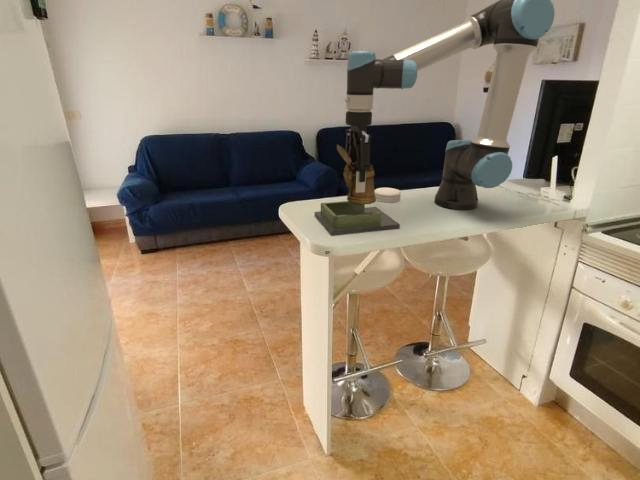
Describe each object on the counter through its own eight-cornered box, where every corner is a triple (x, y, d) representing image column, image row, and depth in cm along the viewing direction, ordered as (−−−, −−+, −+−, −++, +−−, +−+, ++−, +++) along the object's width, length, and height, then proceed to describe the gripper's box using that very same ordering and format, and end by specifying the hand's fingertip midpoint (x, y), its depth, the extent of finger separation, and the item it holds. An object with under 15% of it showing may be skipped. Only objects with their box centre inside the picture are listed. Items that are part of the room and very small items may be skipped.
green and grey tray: (375, 210, 137) (376, 196, 135) (399, 228, 121) (401, 213, 119) (314, 216, 131) (314, 201, 129) (331, 235, 115) (331, 219, 113)
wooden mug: (329, 199, 124) (330, 141, 117) (366, 195, 129) (370, 139, 122) (341, 207, 117) (343, 146, 110) (381, 202, 122) (385, 143, 115)
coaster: (390, 194, 156) (391, 186, 155) (405, 201, 148) (406, 192, 146) (368, 197, 152) (369, 188, 151) (382, 204, 144) (383, 195, 142)
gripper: (335, 108, 120) (333, 181, 129) (359, 114, 103) (355, 198, 112) (358, 107, 122) (355, 180, 131) (386, 113, 105) (380, 196, 114)
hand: (355, 188), depth 121 cm, fingers closed on wooden mug, 7 cm apart
